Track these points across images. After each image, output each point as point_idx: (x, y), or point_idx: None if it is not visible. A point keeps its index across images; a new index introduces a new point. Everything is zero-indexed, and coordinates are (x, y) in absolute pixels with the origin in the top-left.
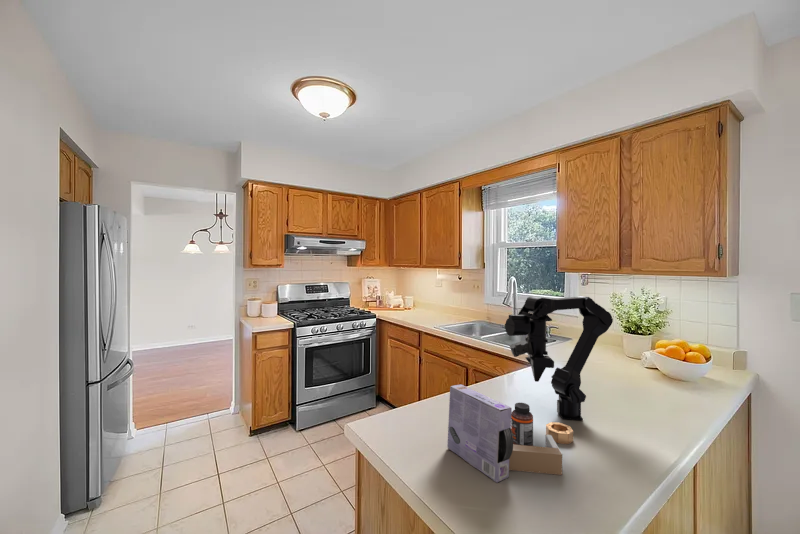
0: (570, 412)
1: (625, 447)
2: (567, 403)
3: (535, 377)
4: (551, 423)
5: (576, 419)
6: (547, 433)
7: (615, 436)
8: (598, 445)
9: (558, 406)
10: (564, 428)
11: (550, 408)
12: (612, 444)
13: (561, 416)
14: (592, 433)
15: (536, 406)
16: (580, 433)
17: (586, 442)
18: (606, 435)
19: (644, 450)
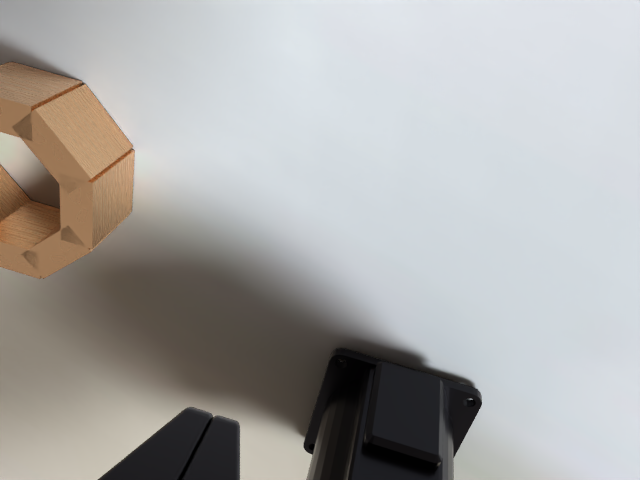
0: (321, 428)
1: (16, 421)
2: (319, 475)
3: (116, 477)
4: (66, 169)
5: (312, 416)
6: (17, 76)
7: (123, 457)
8: (4, 323)
9: (396, 409)
10: (48, 234)
11: (554, 378)
12: (33, 391)
13: (357, 357)
14: (144, 383)
15: (636, 297)
16: (135, 323)
17: (25, 285)
18: (128, 429)
19: (7, 466)
